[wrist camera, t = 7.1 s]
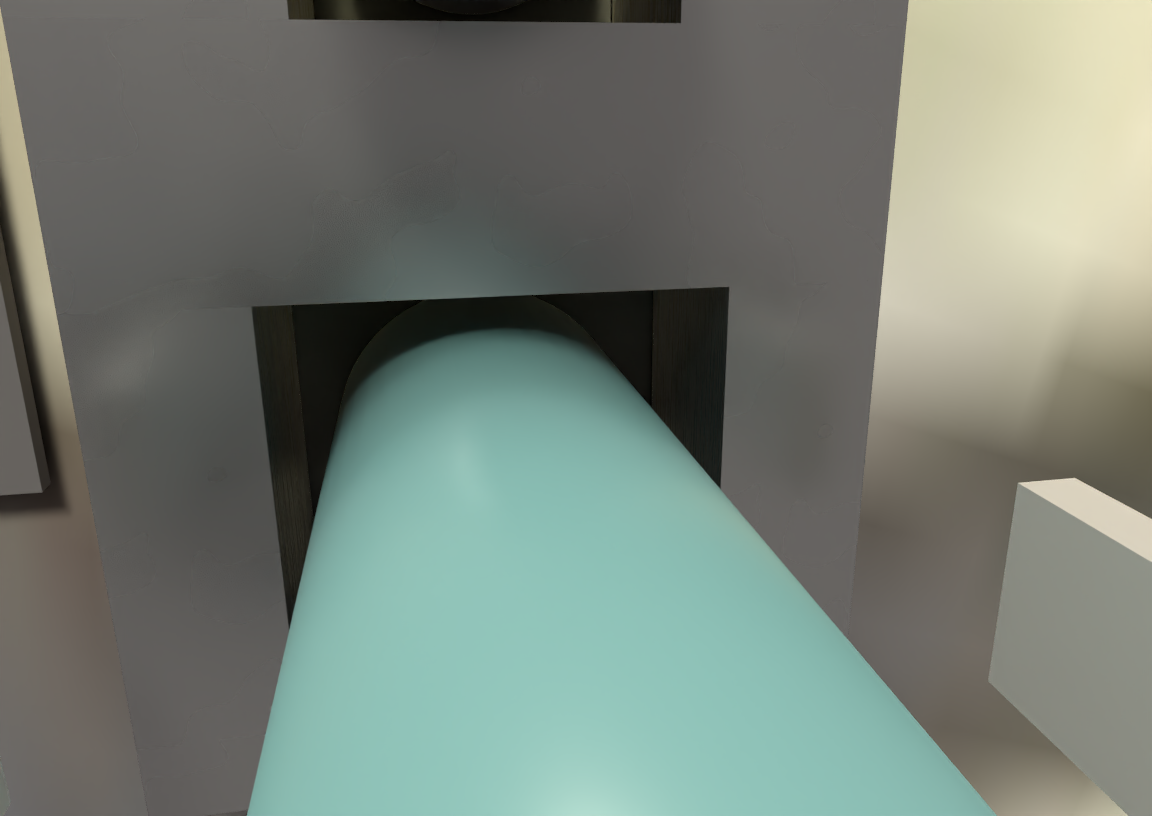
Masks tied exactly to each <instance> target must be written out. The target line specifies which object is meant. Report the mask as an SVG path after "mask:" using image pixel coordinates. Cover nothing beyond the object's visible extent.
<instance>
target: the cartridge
mask: <svg viewBox="0 0 1152 816" xmlns="http://www.w3.org/2000/svg"><path fill="white" fill-rule="evenodd" d="M247 816H997V815H996V814H995V813H994V812H993V810H992V809H991V808H990V807H989V806H988V805H987V803H986V802H985V801H984V800H983V799H982V797H981V796H980V795H979V794H978V793H977V792H976V790H975V789H974V788H973V787H972V786H971V785H970V783H969V782H968V781H967V780H966V779H965V777H964V776H963V775H962V774H961V773H960V772H959V770H958V769H957V768H956V767H955V766H954V764H953V763H952V762H951V761H950V760H949V759H948V757H947V756H946V755H945V754H944V753H943V751H942V750H941V749H940V748H939V747H938V746H937V744H936V743H935V742H934V741H933V740H932V738H931V737H930V736H929V735H928V734H927V733H926V731H925V730H924V729H923V728H922V727H921V725H920V724H919V723H918V722H917V721H916V720H915V718H914V717H913V716H912V715H911V714H910V712H909V711H908V710H907V709H906V708H905V707H904V705H903V704H902V703H901V702H900V701H899V700H898V698H897V697H896V696H895V695H894V694H893V692H892V691H891V690H890V689H889V688H888V687H887V685H886V684H885V683H884V682H883V681H882V679H881V678H880V677H879V676H878V675H877V674H876V672H875V671H874V670H873V669H872V668H871V666H870V665H869V664H868V663H867V662H866V661H865V659H864V658H863V657H862V656H861V655H860V653H859V652H858V651H857V650H856V649H855V648H854V646H853V645H852V644H851V643H850V642H849V640H848V639H847V638H846V637H845V636H844V635H843V633H842V632H841V631H840V630H839V629H838V627H837V626H836V625H835V624H834V623H833V622H832V620H831V619H830V618H829V617H828V616H827V615H826V613H825V612H824V611H823V610H822V609H821V607H820V606H819V605H818V604H817V603H816V602H815V600H814V599H813V598H812V597H811V596H810V594H809V593H808V592H807V591H806V590H805V589H804V587H803V586H802V585H801V584H800V583H799V581H798V580H797V579H796V578H795V577H794V576H793V574H792V573H791V572H790V571H789V570H788V568H787V567H786V566H785V565H784V564H783V563H782V561H781V560H780V559H779V558H778V557H777V555H776V554H775V553H774V552H773V551H772V550H771V548H770V547H769V546H768V545H767V544H766V542H765V541H764V540H763V539H762V538H761V537H760V535H759V534H758V533H757V532H756V531H755V529H754V528H753V527H752V526H751V525H750V524H749V522H748V521H747V520H746V519H745V518H744V517H743V515H742V514H741V513H740V512H739V511H738V509H737V508H736V507H735V506H734V505H733V504H732V502H731V501H730V500H729V499H728V498H727V496H726V495H725V494H724V493H723V492H722V491H721V489H720V488H719V487H718V486H717V485H716V483H715V482H714V481H713V480H712V479H711V478H710V476H709V475H708V474H707V473H706V472H705V470H704V469H703V468H702V467H701V466H700V465H699V463H698V462H697V461H696V460H695V459H694V457H693V456H692V455H691V454H690V453H689V452H688V450H687V449H686V448H685V447H684V446H683V444H682V443H681V442H680V441H679V440H678V439H677V437H676V436H675V435H674V434H673V433H672V432H671V430H670V429H669V428H668V427H667V426H666V424H665V423H664V422H663V421H662V420H661V419H660V417H659V416H658V415H657V414H656V413H655V411H654V410H653V409H652V408H651V407H650V406H649V404H648V403H647V402H646V401H645V400H644V398H643V397H642V396H641V395H640V394H639V393H638V391H637V390H636V389H635V388H634V387H633V385H632V384H631V383H630V382H629V381H628V380H627V378H626V377H625V376H624V375H623V374H622V372H621V371H620V370H619V369H618V368H617V367H616V365H615V364H614V363H613V362H612V361H611V359H610V358H609V357H608V356H607V355H606V354H605V352H604V351H603V350H602V349H601V348H600V347H599V345H598V344H597V343H596V342H595V341H594V339H593V338H592V337H591V336H590V335H589V334H588V333H587V332H586V331H585V330H584V328H583V327H582V326H581V325H579V324H578V323H577V322H576V321H575V320H573V319H572V318H571V317H570V316H569V315H567V314H566V313H564V312H563V311H561V310H559V309H558V308H556V307H555V306H553V305H551V304H549V303H547V302H544V301H542V300H540V299H538V298H536V297H533V296H529V295H520V296H496V297H472V298H448V299H427V300H424V301H422V302H420V303H418V304H416V305H414V306H412V307H411V308H409V309H407V310H405V311H404V312H402V313H401V314H399V315H398V316H397V317H395V318H394V319H392V320H391V321H390V322H389V323H387V324H386V325H385V326H384V327H383V328H382V329H381V330H380V331H379V332H378V333H377V334H376V335H375V336H374V337H373V338H372V340H371V341H370V342H369V343H368V345H367V346H366V347H365V348H364V349H363V351H362V353H361V354H360V356H359V358H358V359H357V361H356V363H355V364H354V366H353V368H352V371H351V373H350V375H349V378H348V380H347V382H346V386H345V389H344V393H343V397H342V400H341V405H340V409H339V414H338V418H337V422H336V427H335V431H334V436H333V440H332V444H331V449H330V453H329V458H328V462H327V466H326V471H325V475H324V480H323V484H322V488H321V493H320V497H319V502H318V506H317V510H316V515H315V519H314V523H313V528H312V532H311V537H310V541H309V545H308V550H307V554H306V559H305V563H304V567H303V572H302V576H301V581H300V585H299V589H298V594H297V598H296V603H295V607H294V611H293V616H292V620H291V625H290V629H289V633H288V638H287V642H286V647H285V651H284V655H283V660H282V664H281V669H280V673H279V677H278V682H277V686H276V690H275V695H274V699H273V704H272V708H271V712H270V717H269V721H268V726H267V730H266V734H265V739H264V743H263V748H262V752H261V756H260V761H259V765H258V770H257V774H256V778H255V783H254V787H253V792H252V796H251V800H250V805H249V809H248V814H247Z"/></svg>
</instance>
